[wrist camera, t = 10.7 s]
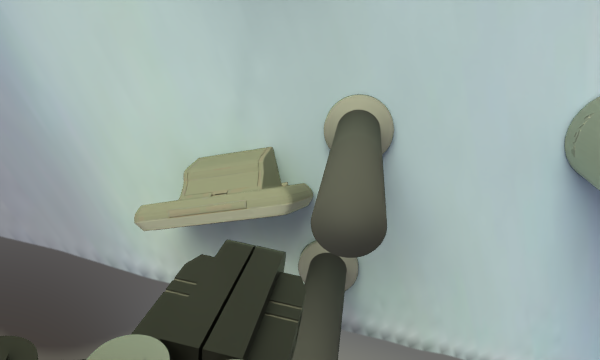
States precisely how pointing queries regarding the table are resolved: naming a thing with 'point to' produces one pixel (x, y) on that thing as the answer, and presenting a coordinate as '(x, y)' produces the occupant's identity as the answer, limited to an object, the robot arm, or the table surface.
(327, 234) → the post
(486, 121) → the table surface
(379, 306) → the table surface
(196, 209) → the digital clock
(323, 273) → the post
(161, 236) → the table surface
